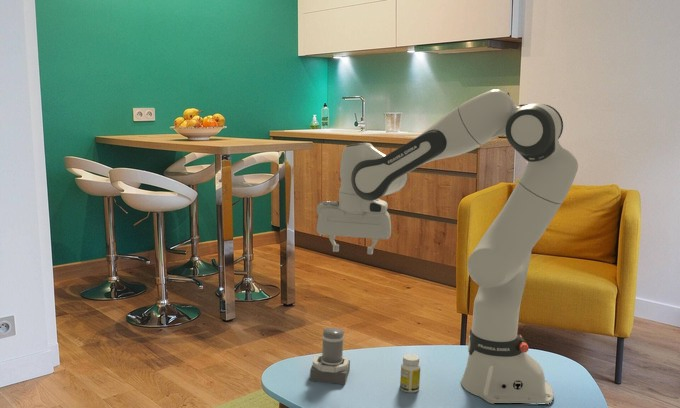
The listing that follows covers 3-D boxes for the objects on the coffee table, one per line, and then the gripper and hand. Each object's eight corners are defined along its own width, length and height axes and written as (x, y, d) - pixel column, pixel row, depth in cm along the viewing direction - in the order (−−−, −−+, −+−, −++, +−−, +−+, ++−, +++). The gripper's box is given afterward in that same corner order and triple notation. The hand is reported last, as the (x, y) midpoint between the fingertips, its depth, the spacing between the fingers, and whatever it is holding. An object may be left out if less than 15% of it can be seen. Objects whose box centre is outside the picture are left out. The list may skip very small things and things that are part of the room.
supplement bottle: (418, 385, 159) (420, 353, 158) (419, 394, 154) (421, 361, 153) (399, 383, 159) (401, 352, 158) (399, 392, 155) (401, 360, 153)
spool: (343, 361, 164) (345, 328, 162) (340, 370, 159) (342, 336, 157) (323, 359, 165) (325, 326, 163) (319, 367, 160) (321, 334, 158)
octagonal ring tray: (349, 370, 166) (350, 355, 165) (344, 385, 157) (345, 369, 157) (316, 366, 167) (316, 351, 167) (309, 381, 159) (310, 365, 158)
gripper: (315, 202, 168) (313, 252, 170) (391, 207, 165) (388, 258, 167) (319, 198, 174) (317, 246, 177) (393, 203, 171) (390, 252, 174)
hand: (352, 252), depth 172 cm, fingers open, 8 cm apart
